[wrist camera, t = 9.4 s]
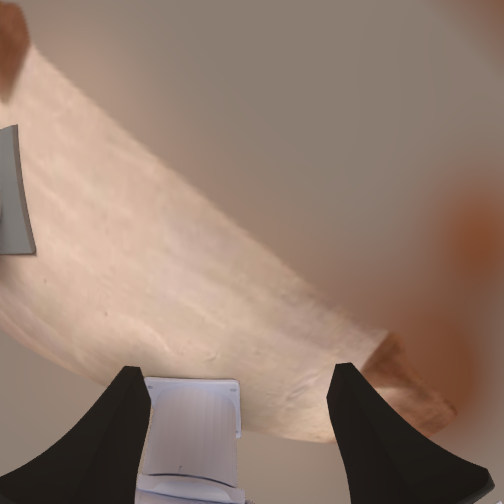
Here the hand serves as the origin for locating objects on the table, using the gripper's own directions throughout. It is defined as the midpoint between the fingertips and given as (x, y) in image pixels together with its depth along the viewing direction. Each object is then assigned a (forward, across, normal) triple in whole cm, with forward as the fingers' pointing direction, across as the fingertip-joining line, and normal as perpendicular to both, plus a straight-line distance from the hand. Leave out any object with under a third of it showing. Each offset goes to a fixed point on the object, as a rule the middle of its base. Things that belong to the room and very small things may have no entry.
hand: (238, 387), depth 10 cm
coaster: (+9, +19, -6) cm, 22 cm away
